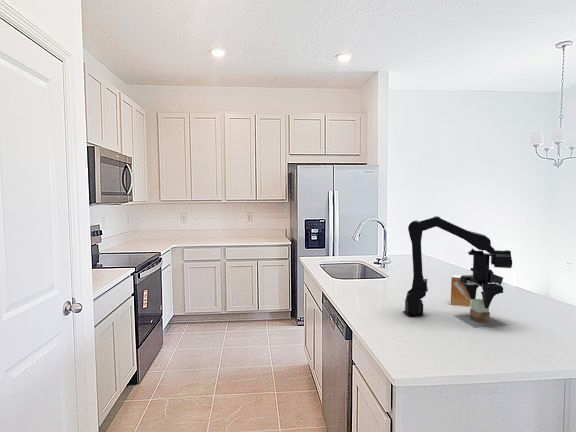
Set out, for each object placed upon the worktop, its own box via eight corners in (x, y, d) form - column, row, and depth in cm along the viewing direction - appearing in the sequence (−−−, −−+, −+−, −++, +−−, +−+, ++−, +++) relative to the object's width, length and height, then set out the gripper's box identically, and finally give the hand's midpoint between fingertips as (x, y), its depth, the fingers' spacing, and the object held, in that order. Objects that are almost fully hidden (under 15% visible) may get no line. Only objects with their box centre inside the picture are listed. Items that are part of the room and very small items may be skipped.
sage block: (478, 312, 145) (478, 302, 145) (471, 309, 149) (471, 299, 149) (488, 312, 146) (489, 302, 145) (481, 308, 150) (481, 298, 150)
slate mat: (474, 328, 140) (474, 327, 140) (453, 316, 154) (453, 315, 154) (508, 326, 142) (508, 325, 142) (484, 314, 156) (484, 313, 156)
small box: (450, 304, 170) (451, 276, 169) (452, 301, 175) (452, 274, 174) (470, 307, 166) (470, 278, 165) (471, 303, 171) (471, 275, 170)
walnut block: (477, 322, 145) (478, 312, 145) (469, 318, 150) (470, 308, 150) (489, 322, 146) (489, 312, 145) (481, 317, 150) (481, 308, 150)
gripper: (517, 270, 138) (515, 311, 139) (484, 261, 157) (483, 297, 158) (489, 271, 137) (488, 313, 138) (459, 262, 155) (458, 298, 156)
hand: (479, 305), depth 147 cm, fingers open, 8 cm apart
